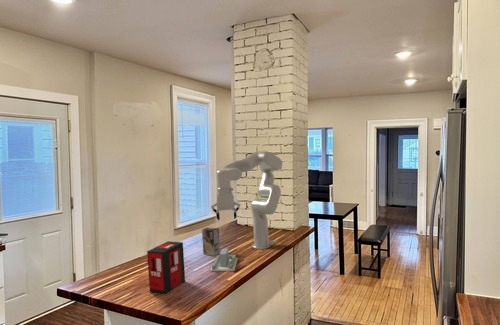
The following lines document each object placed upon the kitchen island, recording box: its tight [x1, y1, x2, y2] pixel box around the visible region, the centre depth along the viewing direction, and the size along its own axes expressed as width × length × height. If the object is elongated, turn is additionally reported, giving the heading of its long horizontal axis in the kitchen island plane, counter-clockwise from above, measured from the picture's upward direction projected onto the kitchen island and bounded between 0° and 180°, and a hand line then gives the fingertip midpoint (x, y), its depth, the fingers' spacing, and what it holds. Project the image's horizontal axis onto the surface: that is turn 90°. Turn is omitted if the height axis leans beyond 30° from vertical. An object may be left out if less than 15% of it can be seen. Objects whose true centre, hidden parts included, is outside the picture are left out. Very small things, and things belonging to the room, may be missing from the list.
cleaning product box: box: [146, 240, 186, 295], centre depth 166 cm, size 16×9×20 cm, turn 159°
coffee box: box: [201, 227, 221, 257], centre depth 214 cm, size 9×6×16 cm
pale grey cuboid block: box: [219, 248, 230, 267], centre depth 193 cm, size 4×10×7 cm, turn 176°
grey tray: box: [210, 254, 239, 272], centre depth 193 cm, size 13×18×3 cm
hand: (226, 219), depth 201 cm, fingers open, 9 cm apart
